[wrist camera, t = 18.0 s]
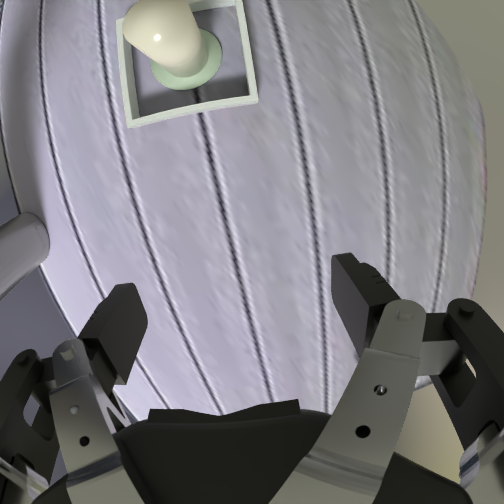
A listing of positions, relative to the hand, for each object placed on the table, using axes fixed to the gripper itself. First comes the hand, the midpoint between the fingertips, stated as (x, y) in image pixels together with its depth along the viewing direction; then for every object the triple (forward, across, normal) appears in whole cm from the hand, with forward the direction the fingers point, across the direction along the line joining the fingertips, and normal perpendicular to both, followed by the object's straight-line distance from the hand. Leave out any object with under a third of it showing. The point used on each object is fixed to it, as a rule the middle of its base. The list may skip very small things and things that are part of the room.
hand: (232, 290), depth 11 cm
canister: (+26, +4, -17) cm, 31 cm away
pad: (+26, +4, -17) cm, 31 cm away
